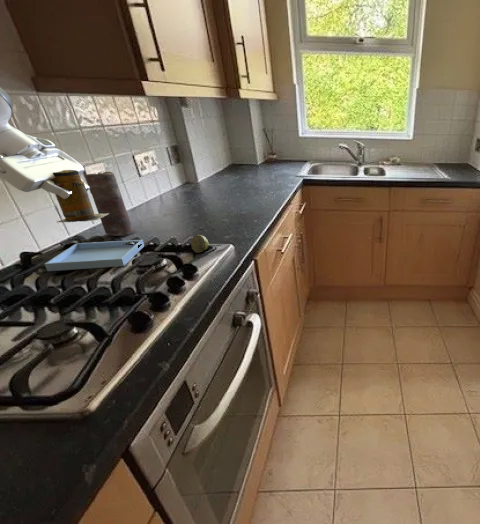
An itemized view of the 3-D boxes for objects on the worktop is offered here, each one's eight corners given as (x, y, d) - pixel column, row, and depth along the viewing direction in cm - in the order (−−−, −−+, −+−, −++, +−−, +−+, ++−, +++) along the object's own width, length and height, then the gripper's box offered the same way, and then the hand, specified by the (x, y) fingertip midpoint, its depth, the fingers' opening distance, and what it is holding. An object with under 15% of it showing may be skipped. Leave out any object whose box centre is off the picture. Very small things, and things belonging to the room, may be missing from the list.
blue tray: (47, 271, 84) (44, 263, 83) (78, 250, 96) (75, 243, 95) (124, 266, 87) (121, 258, 86) (144, 246, 100) (142, 239, 99)
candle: (102, 239, 104) (80, 174, 96) (108, 231, 110) (88, 170, 102) (131, 236, 107) (112, 173, 99) (135, 229, 113) (118, 169, 105)
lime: (209, 253, 96) (205, 237, 94) (190, 254, 95) (187, 238, 93) (211, 247, 100) (208, 232, 98) (193, 249, 99) (190, 233, 96)
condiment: (74, 215, 88) (58, 169, 83) (109, 214, 90) (95, 168, 85) (55, 223, 82) (36, 173, 77) (93, 222, 83) (77, 173, 78)
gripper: (-15, 146, 68) (57, 192, 74) (54, 139, 86) (107, 177, 92) (-30, 168, 69) (42, 212, 75) (41, 157, 87) (94, 193, 93)
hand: (78, 193), depth 83 cm, fingers closed on condiment, 6 cm apart
